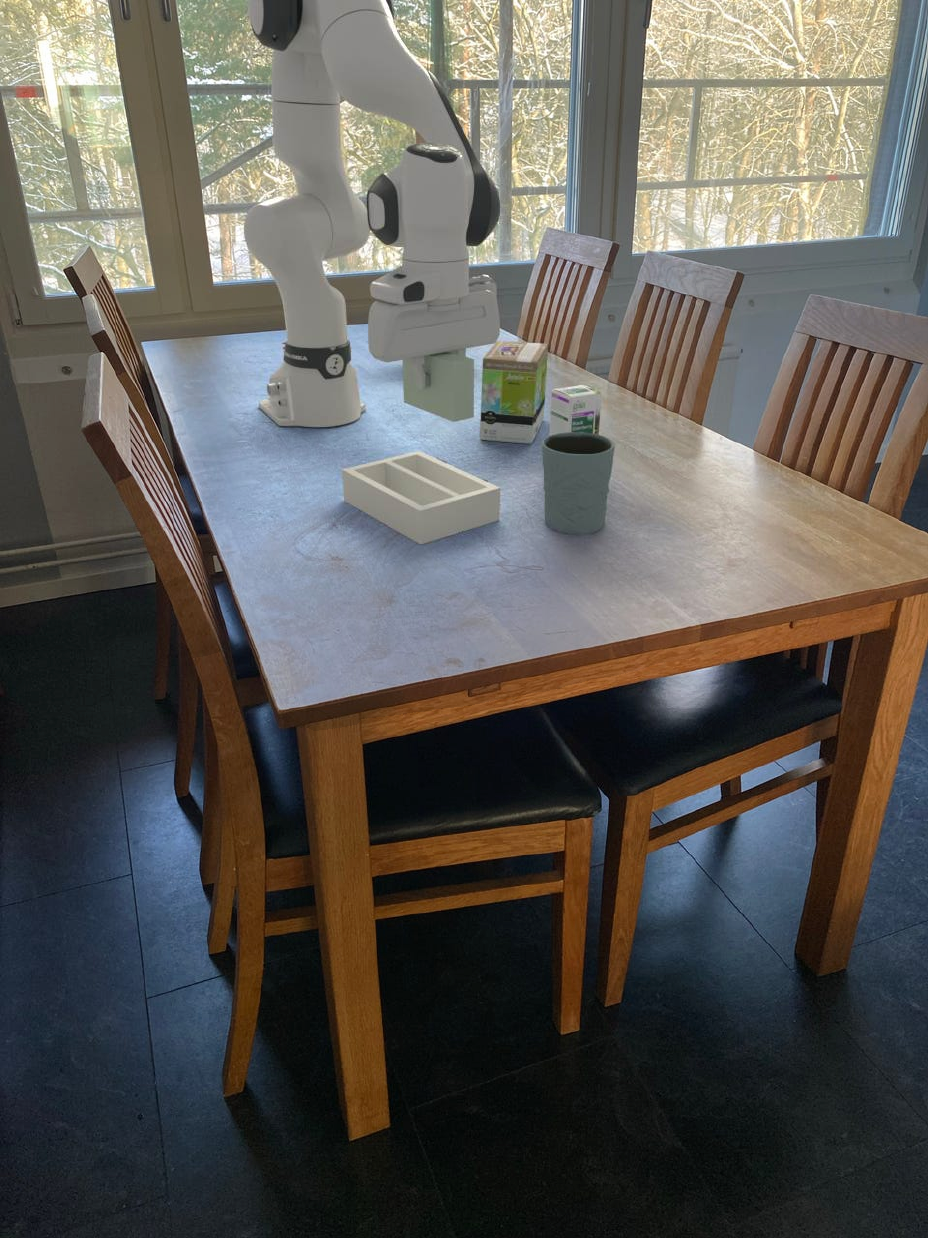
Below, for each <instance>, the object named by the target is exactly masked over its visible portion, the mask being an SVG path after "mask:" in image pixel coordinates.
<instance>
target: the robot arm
mask: <svg viewBox="0 0 928 1238" xmlns="http://www.w3.org/2000/svg"><path fill="white" fill-rule="evenodd" d="M247 14H248V18H249V21H250V22H249V23H250V26H251V30H252V34H253V35H254V37H255V38H256V39H257V40H258V41H259V43H260V44H261V45H262V46H263V47H267V48H269V49H273V53H272V62H271V63H272V64H271V81H270V82H271V83H270V84H271V115H272V133H273V134H272V135H273V140H272V141H273V149H274V152H275V155H276V157H277V158H278V159H279V161H280V162H282V164H284V165H285V166H286V167H288V168H289V169H290V171H291V172H292V174H293V177H294V180H295V183H296V189H297V194H295V195H283V196H276V197H271V198H269V199H267V200H264V201H261V202H259V203H257V204H255V205H253V206H252V207H251V208H250V209H248V212H247V213H246V215H245V218H244V223H243V235H244V236H243V237H244V240H245V243H246V247H247V248H248V250H249V252H250V253H251V255H252V256H253V257H254V259H256V261H258V263H261V265H263V266H264V267H265V268H266V269H267V271H269V274H270V275H271V276H272V278H273V280H274V282H275V284H276V287H277V289H278V291H279V295H280V298H281V302H282V307H283V314H284V315H283V316H284V321H285V323H284V324H285V330H286V342H282V343H281V345H284V346H282V350H283V361H284V362H282V364H280V366H279V367H278V368H277V369H276V371H275V372H273V374H271V375H270V377H269V381H268V382H269V383H267V384H266V391H267V394H268V396H269V397H266V398H265V399H262V400H260V401H258V408H260V409H261V410H262V412H263V413H265V414H266V415H267V416H268V417H269V418H270V420H272V421H273V422H275V423H276V424H277V425H278V426H280V427H305V428H306V427H307V428H328V427H336V426H338V427H339V426H342V425H347V424H350V423H353V422H355V421H357V420H358V419H360V418H361V414H362V412H364V411H365V410H367V407H366V404H365V402H362V401H361V396H360V388H359V381H358V373H357V369H356V368H355V366H353V365H352V364H351V362H352V361H351V360H352V347H351V341H350V340H349V339H348V328H347V327H348V326H347V325H348V323H347V309H346V306H347V305H346V304H347V303H346V299H345V297H344V295H343V293H341V291H340V290H339V289H338V288H336V287H334V286H332V285H331V284H330V283H329V281H328V277H327V276H326V274H325V269H324V264H323V261H329V260H334V259H340V258H341V259H342V258H344V257H347V256H348V255H350V254H353V253H355V252H357V251H358V250H360V249H362V248H363V247H365V245H366V243H367V242H368V240H369V237H370V234H371V233H372V234H373V236H374V237H376V239H378V240H379V241H380V243H382V244H384V245H385V246H391V247H394V248H403V250H402V256H401V260H402V261H401V262H402V265H399V266H398V267H396V268H395V269H393V270H392V271H390V272H388V273H387V274H384V275H383V276H380V277H379V278H377V279H375V280H373V281H372V282H371V283H370V286H369V292H370V296H371V297H372V298H373V299H376V300H375V301H374V302H373V303H372V304H371V306H370V308H369V313H368V321H367V322H368V323H367V324H368V325H367V339H368V340H367V342H368V343H367V345H368V351H369V353H370V355H371V356H372V358H374V359H375V360H378V361H379V362H380V361H381V362H383V363H392V362H399V361H403V360H405V359H407V363H408V364H409V366H410V368H411V369H412V371H413V373H414V374H415V385H416V387H418V388H420V389H422V388H427V387H430V386H431V382H430V380H431V375H430V374H426V373H425V372H424V370H423V368H422V366H421V364H424V356H427V355H432V354H438V353H444V352H452V353H455V354H458V355H462V356H465V357H467V349H469V348H470V349H471V348H475V347H476V348H477V347H480V346H481V347H482V346H487V345H494V344H495V343H496V342H497V341H498V339H499V337H500V334H501V333H500V332H501V329H500V312H499V306H498V299H497V293H498V292H497V290H498V286H497V283H495V281H494V280H493V278H491V277H490V276H489V275H487V274H480V275H478V276H470V275H469V274H470V259H469V258H470V253H469V250H468V247H478V246H480V245H481V244H482V243H483V242H485V241H486V240H487V239H488V238H489V236H490V235H491V234H492V233H493V231H494V230H495V228H496V226H497V224H498V223H499V220H500V215H501V200H500V195H499V192H498V188H497V187H496V185H495V183H494V181H493V179H492V178H491V176H490V175H489V173H488V172H487V171H486V169H485V168H484V166H483V165H482V163H481V162H480V161H479V159H478V157H477V156H476V154H475V152H474V150H473V147H472V145H471V144H470V143H471V142H470V141H469V139H468V137H467V136H466V134H465V131H464V129H463V127H462V125H461V124H460V121H459V119H458V116H457V115H456V112H455V111H454V109H453V106H452V105H451V103H450V100H449V98H448V97H447V95H446V93H445V91H444V89H443V87H442V86H441V83H440V82H439V81H438V79H437V77H436V76H435V75H434V74H433V73H432V72H431V71H430V70H429V69H427V68H426V66H425V67H424V66H423V65H422V64H421V63H420V62H419V61H418V60H417V59H416V58H415V56H414V55H413V54H412V52H411V51H409V49H408V48H407V46H406V45H405V43H404V42H403V40H402V39H401V37H400V35H399V32H398V30H397V26H396V24H395V5H394V0H247ZM341 98H342V99H343V100H344V101H345V102H347V103H348V104H350V105H352V106H353V107H354V108H356V109H359V110H361V111H364V112H367V113H372V114H375V115H379V116H382V117H385V118H388V119H391V120H394V121H397V122H399V123H402V124H404V125H406V126H408V127H409V128H411V129H413V130H414V131H415V132H417V133H418V134H419V136H421V137H422V138H423V140H424V142H421V143H414V144H412V145H409V146H407V147H406V148H405V149H404V151H403V152H402V156H401V162H400V163H399V164H398V165H397V166H396V167H394V168H393V169H391V170H389V171H387V172H384V173H380V174H379V175H378V176H377V177H376V178H375V180H373V182H372V183H371V185H370V186H369V188H368V190H367V193H366V205H365V203H364V201H362V200H361V199H360V198H359V197H358V195H356V193H355V192H354V190H353V188H352V186H351V184H350V181H349V178H348V175H347V172H346V169H345V165H344V164H345V163H344V160H343V152H342V151H343V150H342V136H341V135H342V134H341V133H342V131H341Z"/></svg>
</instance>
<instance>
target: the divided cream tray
mask: <svg viewBox="0 0 928 1238" xmlns="http://www.w3.org/2000/svg"><path fill="white" fill-rule="evenodd" d="M341 471H342V487H343V489H342V490H343V501H344V503H347V504H349V505H351V506H352V507H355V508H356V509H358V510H360V511H361V512H363V513H364V514H366V515H368V516H370V517H371V518H373V519H375V520H377V521H379V522H380V523H382V524H384V525H385V526H387V527H389V528H391V529H392V530H394V531H396V532H398V533H400V534H402V535H403V536H405V537H407V538H409V539H410V540H411V541H413V542H415V543H417V544H419V545H424V544H428V543H431V542H434V541H438V540H441V539H444V538H447V537H450V536H453V535H456V534H460V533H463V532H466V531H470V530H472V529H476V528H478V527H483V526H485V525H488V524H493V523H496V522H499V521H500V508H501V507H500V506H501V502H500V501H501V487H500V486H497V485H495V484H493V483H490V482H489V481H488V480H487V479H484V478H482V477H480V476H475V475H473V474H471V473H469V472H466V471H464V470H462V469H460V468H457V467H456V466H453V465H451V464H448V463H447V462H446V461H445V460H443V459H440V458H437V457H436V458H435V457H433V456H431V455H429V454H427V453H424V452H423V451H420V450H417V451H413V452H408V453H405V454H400V455H396V456H393V457H388V458H384V459H380V460H375V461H371V462H367V463H364V464H359V465H355V466H351V467H346V468H343V469H342V470H341ZM462 531H463V532H462ZM459 532H460V533H459Z"/></svg>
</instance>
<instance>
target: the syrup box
mask: <svg viewBox="0 0 928 1238" xmlns="http://www.w3.org/2000/svg"><path fill="white" fill-rule="evenodd" d="M601 408H602V392H600V390H597V389H595V388H593V387H590V386H587V385H585V384H578V385H574V386H568V387H567V386H566V387H561V388H552V389H551V390H550V411H549V434H548V435H549V436H551V435H554V434H559V433H568V432H582V433H591V434H597V435H600V421H601V411H602V410H601Z"/></svg>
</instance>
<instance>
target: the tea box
mask: <svg viewBox="0 0 928 1238" xmlns="http://www.w3.org/2000/svg"><path fill="white" fill-rule="evenodd" d="M548 356H549V344H548V343H538V342H537V343H535V342H520V341H508V340H507V341H505V340H503V341H502V340H497V341H496V342H495V343H494V344H493V345H492V347H491V349H489V351H487V353H485V356H483V358H482V371H481V373H482V374H481V397H480V398H481V399H480V400H481V402H480V422H479V423H480V424H479V440H482V441H483V440H484V441H490V442H491V441H492V442H500V443H501V442H502V443H514V444H529V445H530V444H532V443H533V441H534V440H535V438H536V436H537V434H538V431H539V430H540V429H541V426H542V423H543V421H544V417H545V416H544V415H545V406H546V405H545V403H546V387H547V386H546V385H547V370H548V359H549V358H548Z"/></svg>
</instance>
